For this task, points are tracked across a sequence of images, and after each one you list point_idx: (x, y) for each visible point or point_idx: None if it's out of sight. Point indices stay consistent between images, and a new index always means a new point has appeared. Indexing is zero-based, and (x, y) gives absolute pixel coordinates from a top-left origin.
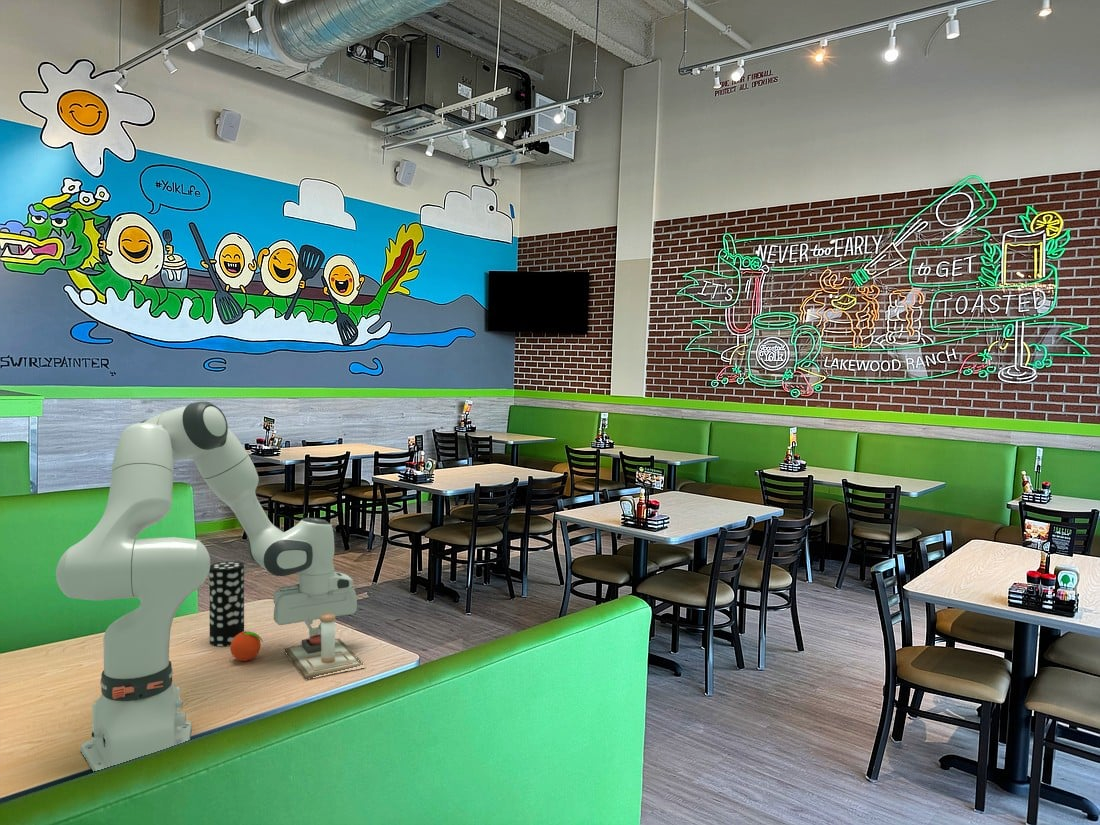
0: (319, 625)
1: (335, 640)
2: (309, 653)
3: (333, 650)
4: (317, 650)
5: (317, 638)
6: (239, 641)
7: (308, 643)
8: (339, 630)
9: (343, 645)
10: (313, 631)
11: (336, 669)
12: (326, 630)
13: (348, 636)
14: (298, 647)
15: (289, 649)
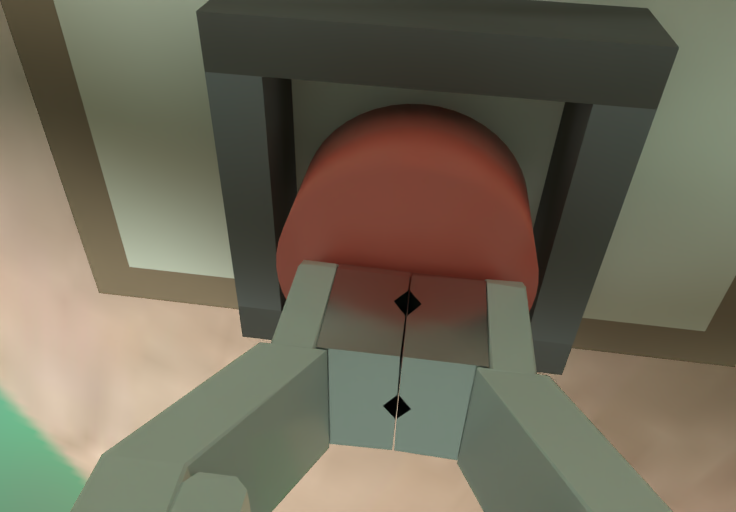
0: (303, 462)
1: (146, 258)
2: (621, 6)
3: None
4: (483, 2)
5: (438, 180)
6: None
7: None
8: (102, 453)
9: (54, 58)
10: (483, 347)
11: None
12: None
13: (28, 334)
14: (609, 296)
15: (725, 305)
